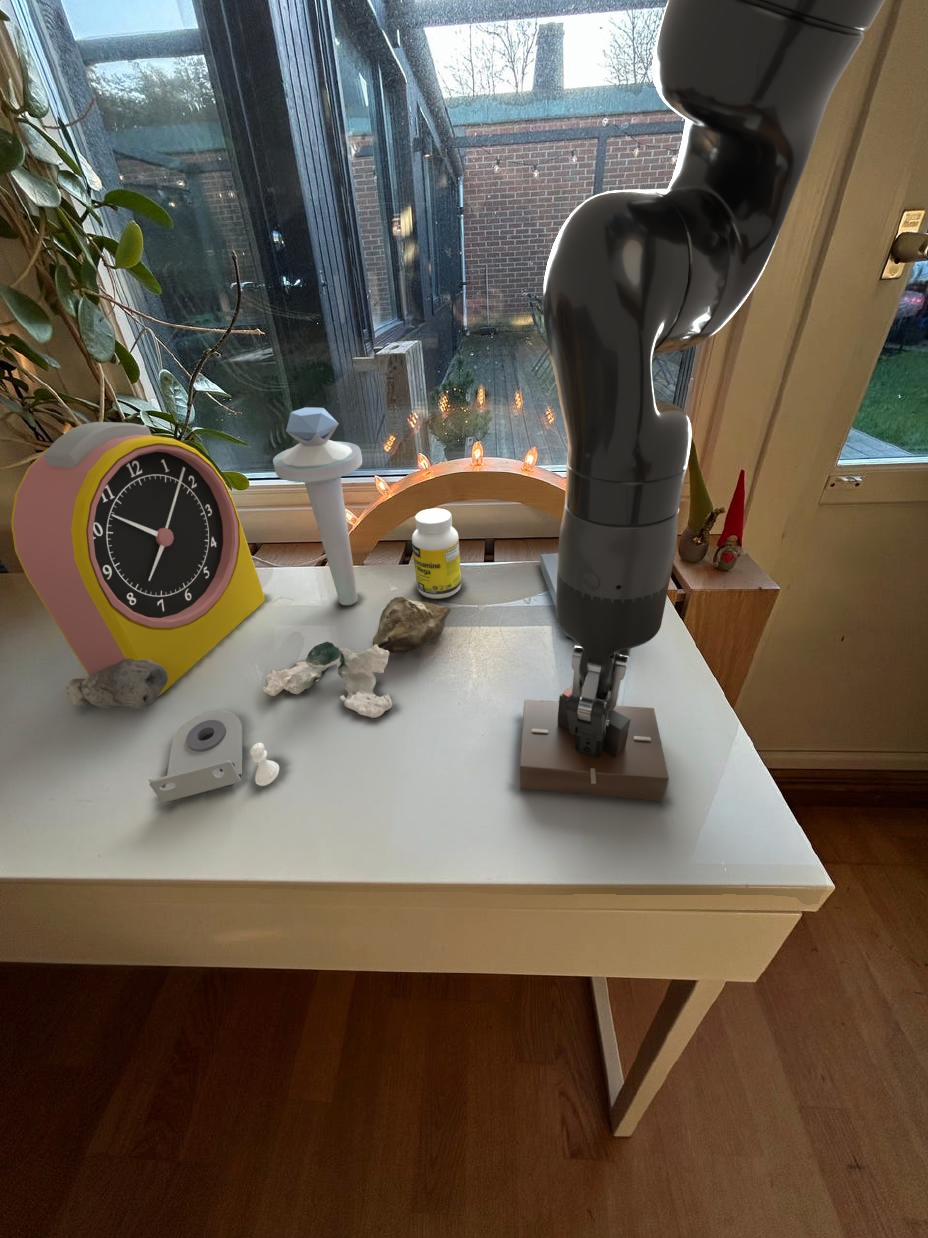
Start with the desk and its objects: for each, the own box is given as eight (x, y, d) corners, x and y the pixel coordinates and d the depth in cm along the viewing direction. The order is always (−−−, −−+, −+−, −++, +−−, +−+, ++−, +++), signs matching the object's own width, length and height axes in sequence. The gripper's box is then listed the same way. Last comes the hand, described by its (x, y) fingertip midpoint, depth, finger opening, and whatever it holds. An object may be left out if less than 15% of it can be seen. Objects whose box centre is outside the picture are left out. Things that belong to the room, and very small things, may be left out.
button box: (626, 637, 62) (630, 609, 59) (567, 642, 61) (570, 614, 59) (587, 563, 76) (589, 539, 74) (540, 567, 76) (541, 542, 74)
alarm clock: (154, 700, 57) (24, 463, 41) (91, 686, 59) (-54, 457, 44) (267, 598, 73) (204, 400, 58) (214, 590, 75) (140, 398, 60)
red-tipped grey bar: (625, 747, 44) (631, 717, 42) (615, 758, 43) (621, 728, 41) (567, 713, 48) (570, 683, 46) (557, 723, 47) (559, 693, 45)
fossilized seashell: (383, 660, 56) (465, 644, 61) (374, 600, 56) (456, 588, 60) (365, 656, 63) (440, 642, 68) (357, 603, 63) (432, 592, 67)
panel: (665, 813, 42) (672, 789, 41) (518, 799, 44) (518, 776, 42) (647, 721, 51) (652, 698, 49) (524, 713, 52) (524, 690, 51)
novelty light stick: (345, 575, 77) (307, 397, 62) (399, 591, 72) (371, 403, 58) (296, 610, 70) (240, 418, 55) (352, 629, 66) (308, 427, 51)
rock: (411, 652, 59) (390, 633, 52) (401, 723, 57) (378, 715, 49) (290, 644, 62) (254, 625, 55) (277, 712, 60) (237, 702, 52)
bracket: (244, 710, 55) (234, 686, 53) (241, 786, 47) (230, 761, 45) (178, 726, 53) (165, 702, 51) (163, 807, 45) (147, 783, 43)
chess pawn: (270, 788, 46) (257, 759, 44) (250, 785, 47) (237, 755, 45) (284, 765, 48) (273, 736, 46) (265, 762, 49) (253, 733, 47)
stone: (75, 714, 57) (52, 726, 49) (66, 666, 56) (42, 670, 49) (177, 695, 61) (169, 703, 53) (169, 650, 61) (160, 652, 53)
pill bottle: (408, 591, 72) (398, 518, 66) (436, 572, 76) (430, 502, 70) (442, 605, 69) (436, 529, 63) (470, 584, 73) (466, 511, 67)
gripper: (659, 634, 29) (623, 818, 39) (679, 529, 39) (647, 695, 49) (530, 611, 32) (527, 788, 42) (581, 518, 42) (569, 678, 52)
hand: (592, 737), depth 45 cm, fingers closed on red-tipped grey bar, 2 cm apart
